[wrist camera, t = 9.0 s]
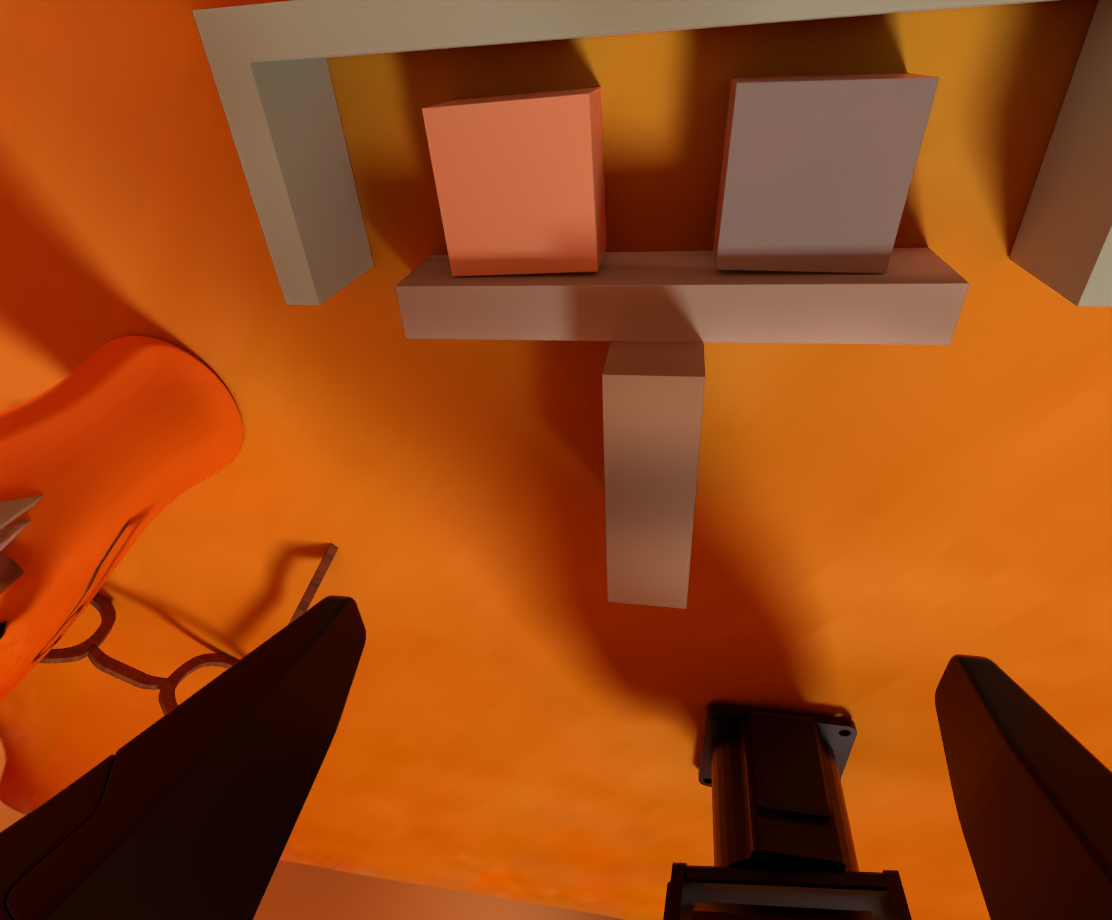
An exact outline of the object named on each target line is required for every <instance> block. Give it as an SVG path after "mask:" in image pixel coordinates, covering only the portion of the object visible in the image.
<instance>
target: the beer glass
mask: <svg viewBox="0 0 1112 920" xmlns="http://www.w3.org/2000/svg"><path fill="white" fill-rule="evenodd" d="M242 443H243V424H242V419H241V416H240V413H239V410H238V408H237V405H236V403H235V401H234V400H233V398H232V396H231V394H230V393H229V391H228V390H227V388H226V387H225V386H224V384H223V383H222V382H221V381H220V379H219V378H218V377H217V376H216V375H215V374H214V373H213V372H212V371H211V370H210V369H209V368H208V367H207V366H206V365H204V364H203V363H202V362H201V361H199V360H198V359H197V358H195V357H194V356H192V355H191V354H189V353H188V352H186V351H184V350H183V349H181V348H179V347H177V346H175V345H173V344H171V343H168V342H166V341H163V340H160V339H156V338H152V337H147V336H125V337H120V338H117V339H114V340H112V341H110V342H108V343H106V344H105V345H103V346H102V347H100V348H99V349H98V350H97V351H95V352H94V353H93V354H92V355H91V356H90V357H88V358H87V359H86V360H85V361H84V362H83V363H82V364H81V365H79V366H78V367H77V368H76V369H75V370H74V371H73V372H72V373H70V374H69V375H68V376H67V377H65V378H64V379H63V380H61V381H60V382H59V383H57V384H56V385H54V386H53V387H51V388H49V389H48V390H46V391H44V392H43V393H41V394H39V395H37V396H35V397H33V398H30V399H28V400H26V401H24V402H22V403H20V404H18V405H15V406H12V407H10V408H7V409H4V410H1V411H0V701H1V700H2V699H3V698H4V697H5V696H6V695H7V694H8V693H9V692H10V691H11V690H12V689H13V688H14V687H15V686H16V685H17V684H18V683H19V682H20V681H21V680H22V679H23V678H24V677H25V676H26V675H27V674H28V673H29V672H30V671H31V670H32V669H33V668H34V667H35V666H36V665H37V664H38V663H39V662H40V661H41V660H42V659H43V658H44V657H45V656H46V655H47V654H48V653H49V651H50V650H51V649H52V648H53V647H54V645H55V644H56V643H57V642H58V641H59V639H60V638H61V637H62V636H63V635H64V633H65V632H66V631H67V630H68V629H69V627H70V626H71V625H72V624H73V623H74V621H75V620H76V619H77V618H78V617H79V616H80V614H81V613H82V612H83V611H84V609H85V608H86V607H87V605H88V604H89V603H90V601H91V600H92V599H93V598H94V596H95V595H96V594H97V592H98V591H99V590H100V588H101V587H102V586H103V584H104V583H105V582H106V580H107V579H108V578H109V576H110V575H111V574H112V572H113V571H114V570H115V568H116V567H117V566H118V564H119V563H120V562H121V560H122V559H123V558H124V556H125V555H126V554H127V552H128V551H129V549H130V548H131V547H132V545H133V544H134V543H135V542H136V540H137V539H138V538H139V537H140V535H141V534H142V533H143V532H144V530H145V529H146V528H147V526H148V525H149V524H150V523H151V522H152V521H153V520H154V519H155V518H156V516H157V515H158V514H159V513H160V512H161V511H162V510H163V509H164V508H165V507H166V506H168V505H169V504H170V503H171V502H172V501H174V500H175V499H176V498H177V497H178V496H180V495H181V494H183V493H184V492H186V491H187V490H189V489H190V488H192V487H194V486H195V485H197V484H199V483H200V482H202V481H204V480H206V479H207V478H209V477H211V476H212V475H214V474H216V473H218V472H219V471H221V470H222V469H224V468H225V467H226V466H228V465H229V464H230V463H231V462H232V461H233V460H234V459H235V458H236V456H237V455H238V453H239V451H240V449H241V447H242Z"/></svg>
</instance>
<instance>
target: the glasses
mask: <svg viewBox="0 0 1112 920" xmlns="http://www.w3.org/2000/svg"><path fill="white" fill-rule="evenodd" d="M337 550H338V547H337V546H335V545H333V544H331V545H330V546H329V548H328V549H327V551H326V553H325V555H324V557H323V558H322V560H321V562H320V564H319V566H318V568H317V570H316V572H315V574H314V576H313V578H312V580H311V582H310V584H309V586H308V588H307V590H306V592H305V594H304V596H303V598H302V600H301V601H300V603H299V605H298V607H297V609H296V611H295V613H294V615H293V617H292V619H291V620H290V622H289V624H290V623H291V622H293V621H294V620H295V619H297V618H298V617H299V616H301V615H302V614H303V613H305V612H306V611H307V609H308V607H309V605H310V603H311V601H312V599H313V597H314V595H315V593H316V591H317V589H318V587H319V585H320V583H321V581H322V579H323V577H324V575H325V573H326V571H327V569H328V567H329V565H330V563H331V561H332V559H333V557H334V555H335V553H336V552H337ZM90 604H91V605H93V606H94V607H95V608H96V609H97V610H98V611H99V613H100V615H101V618H102V623H101V625H100V626H99V628H98V629H97V631H96V632H95V633H94V634H93V635H92V636H91V637H90V638H89V639H87V640H86V641H84V642H83V643H81V644H79V645H76V646H73V647H69V648H63V649H51V650H50V651H49V653H48V654H47V655H46V656H45V657H44V658H43V659H42V660H41V661H40V662H39V663H65V662H73V661H78V660H81V659H83V658H85V657H87V656H88V657H89V659H90V661H91V662H92V664H93V665H94V666H95V667H96V668H98V669H99V670H101V671H103V672H105V673H107V674H109V675H111V676H114V677H116V678H118V679H120V680H122V681H125V682H127V683H129V684H131V685H133V686H136V687H139V688H142V689H152V690H159V689H161V690H160V693H159V695H158V697H159V703H160V706H161V708H162V711H163V713H164V715H166V714H168V713H169V712H170V711H172V710H173V709H174V708H176V707H177V706H178V705H177V702H176V699H175V688H176V687H177V685H178V684H179V683H180V682H181V681H182V680H183V679H184V678H185V677H186V676H187V675H188V674H190V673H191V672H193V671H195V670H196V669H198V668H202V667H206V666H220V667H224V668H228V669H229V668H230V667H231V666H233V665H234V664H236V663H237V662H238V660H236V659H233V658H231V657H229V656H227V655H224V654H216V653H212V654H203V655H200V656H196V657H194V658H192V659H191V660H189V661H187V662H186V663H184V664H183V665H182V666H180V667H179V668H178V669H177V670H175V671H174V672H173V673H172V674H171V675H170V676H169V677H168V678H161V677H155V676H151V675H148V674H145V673H143V672H141V671H139V670H137V669H135V668H133V667H130V666H128V665H126V664H124V663H122V662H120V661H117V660H115V659H113V658H111V657H109V656H107V655H106V654H105V653H103V652H102V651H101V650H100V649H99V648H98V647H99V646H100V645H101V643H102V642H103V641H104V640H105V638H106V637H107V636H108V634H109V633H110V631H111V629H112V627H113V625H114V622H115V619H116V611H115V609H114V606H113V605H112V604H111V602H110V601H109V600H108V599H107V598H105V597H103V596H101V595H99V594H96V595H95V596H94V598H93V599H92V600H91V601H90ZM289 624H288V625H289Z"/></svg>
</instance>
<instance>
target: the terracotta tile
mask: <svg viewBox="0 0 1112 920" xmlns="http://www.w3.org/2000/svg"><path fill="white" fill-rule="evenodd" d="M422 113H423V118H424V124H425V129H426V135H427V140H428V146H429V151H430V157H431V162H432V168H433V173H434V179H435V184H436V190H437V195H438V201H439V206H440V212H441V217H442V223H443V228H444V234H445V239H446V245H447V250H448V256H449V261H450V267H451V272H452V276H477V275H507V274H537V273H567V272H597V271H598V270H599V267H600V264H601V261H602V259H603V256H604V253H605V250H606V248H607V241H606V215H605V189H604V163H603V138H602V112H601V87H592V88H581V89H570V90H559V91H548V92H537V93H526V94H515V95H504V96H493V97H482V98H471V99H460V100H451V101H447V102H444V103H440V104H436V105H433V106H429V107H426V108H422Z"/></svg>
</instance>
